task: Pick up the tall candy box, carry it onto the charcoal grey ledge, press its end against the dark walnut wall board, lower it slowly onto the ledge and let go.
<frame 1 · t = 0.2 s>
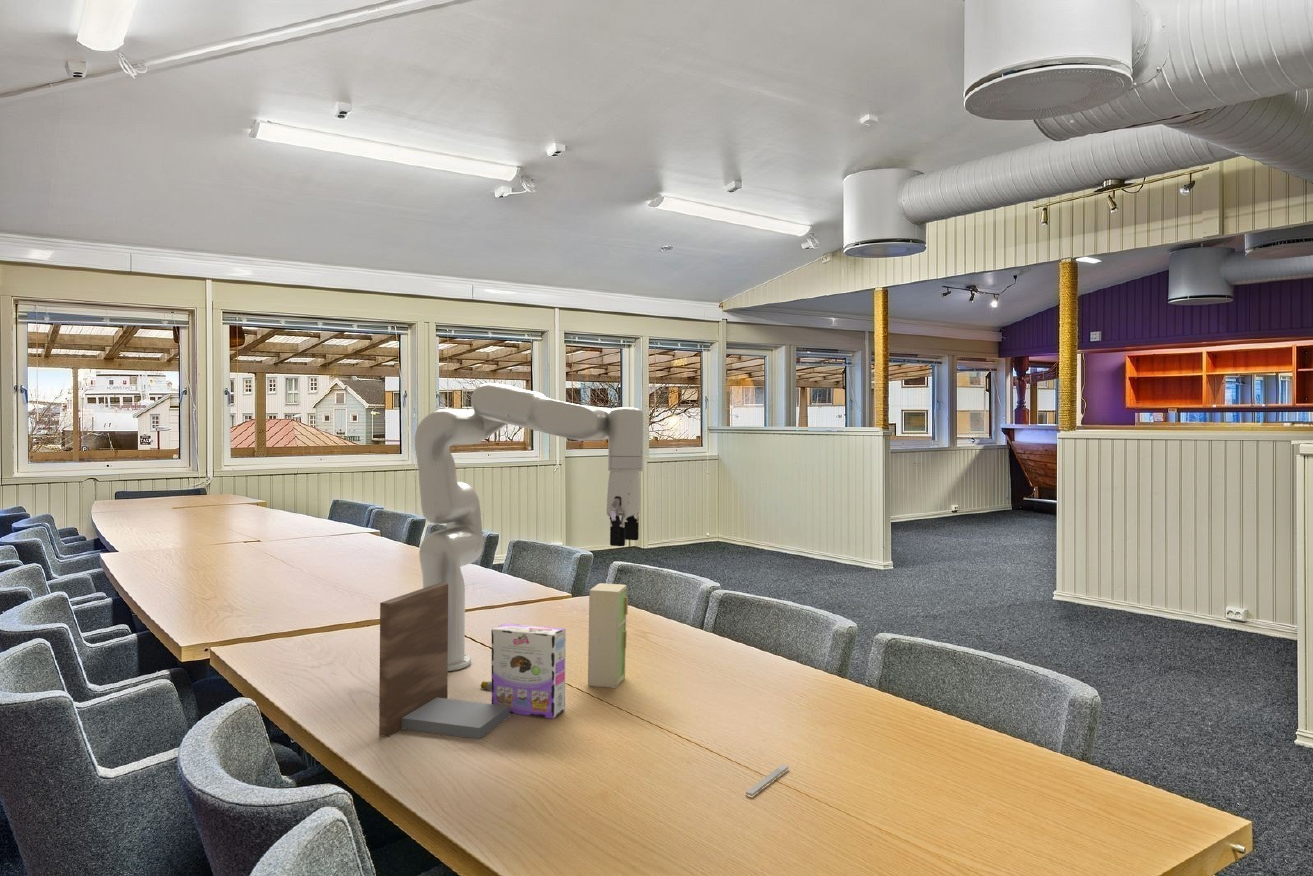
hand: (624, 542, 176), 31 cm above the table, tool pointing down, fingers open, 9 cm apart
wall board: (415, 717, 155), on the table
candy box: (528, 711, 159), on the table
cleat ledge: (457, 722, 153), on the table
extension cord: (522, 692, 173), on the table
toy refrigerator: (608, 683, 178), on the table
ruler: (767, 786, 128), on the table
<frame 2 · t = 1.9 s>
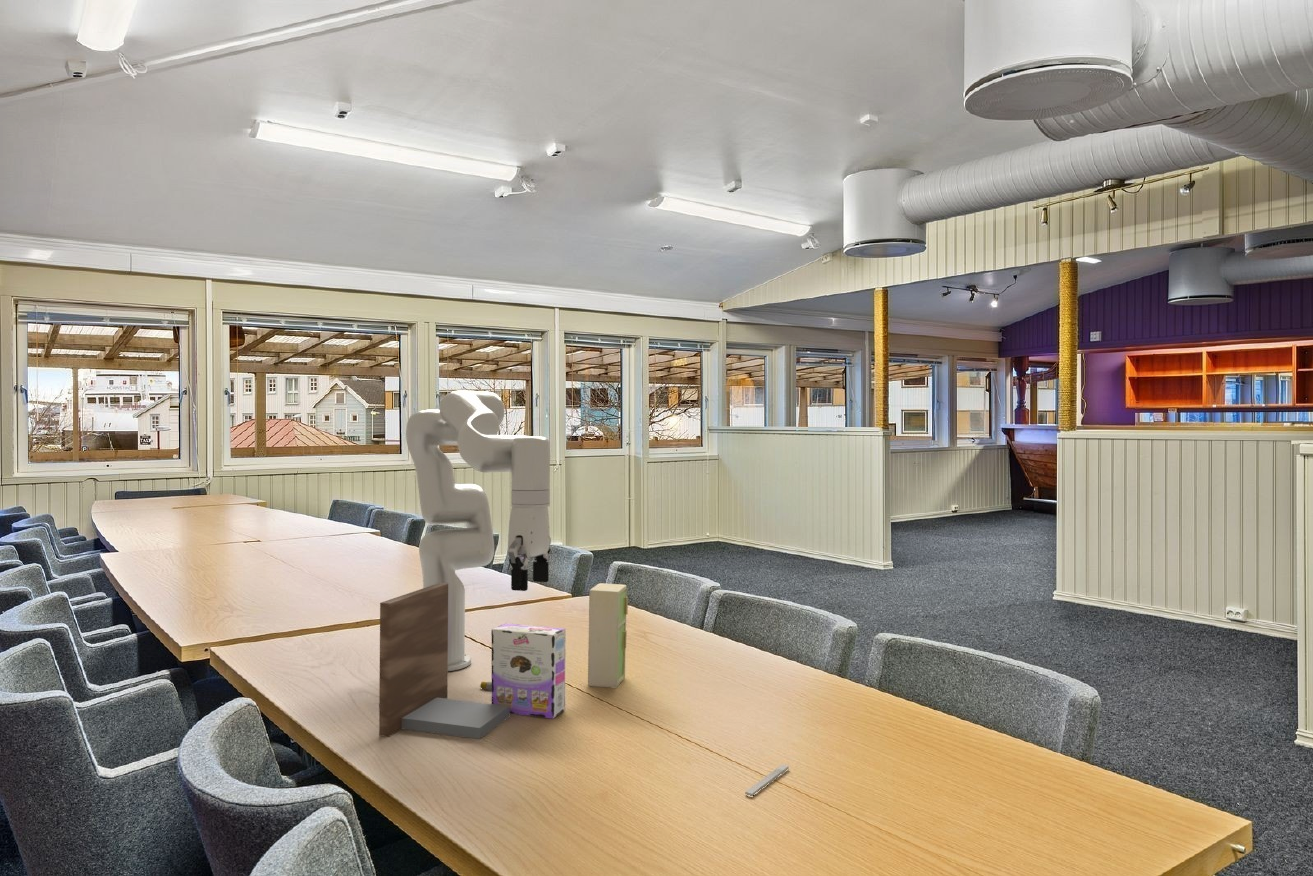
hand: (530, 585, 159), 25 cm above the table, tool pointing down, fingers open, 9 cm apart
nothing on the table moved.
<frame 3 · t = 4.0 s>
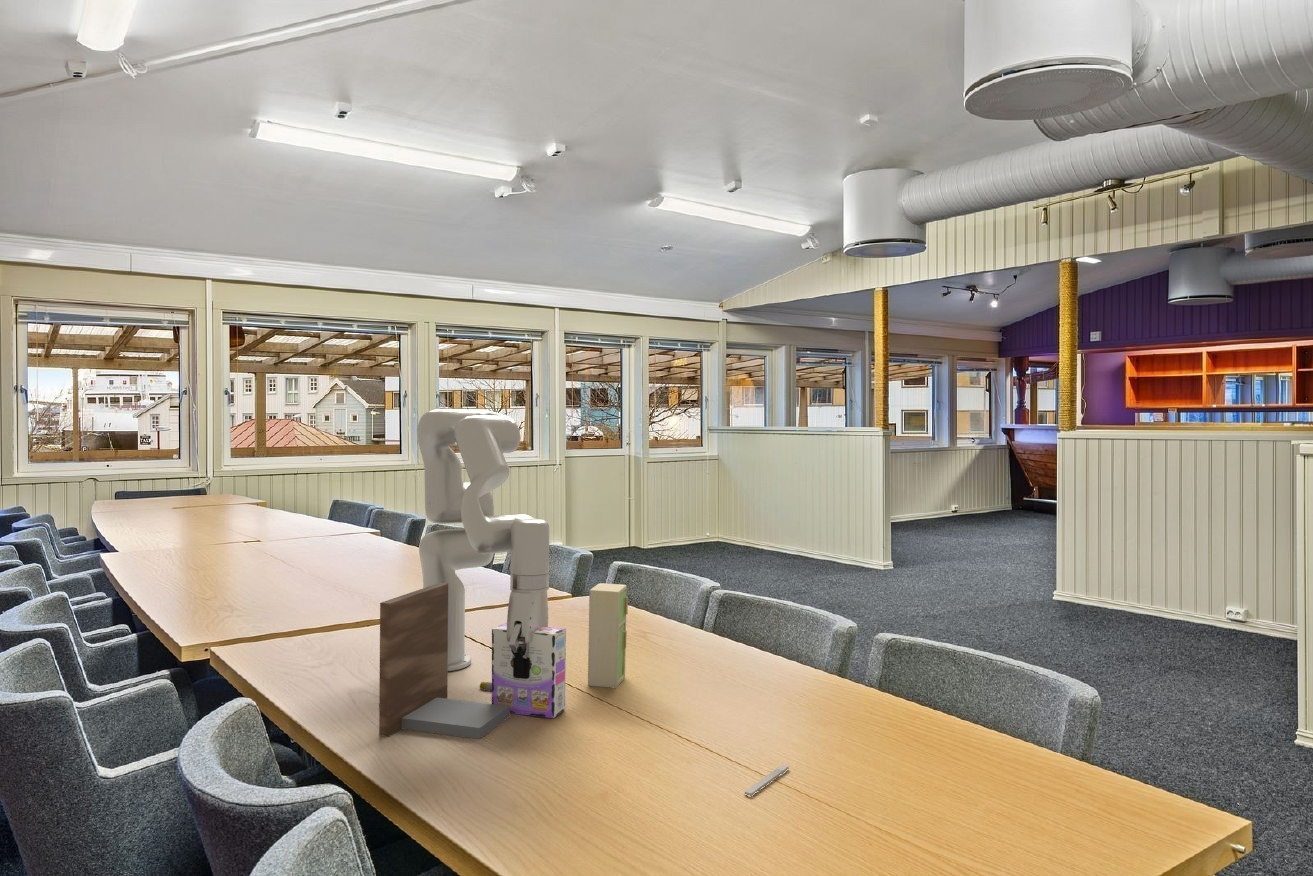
hand: (528, 672, 159), 8 cm above the table, tool pointing down, fingers closed on candy box, 6 cm apart
candy box: (528, 711, 159), on the table, touching gripper
everything else where it was.
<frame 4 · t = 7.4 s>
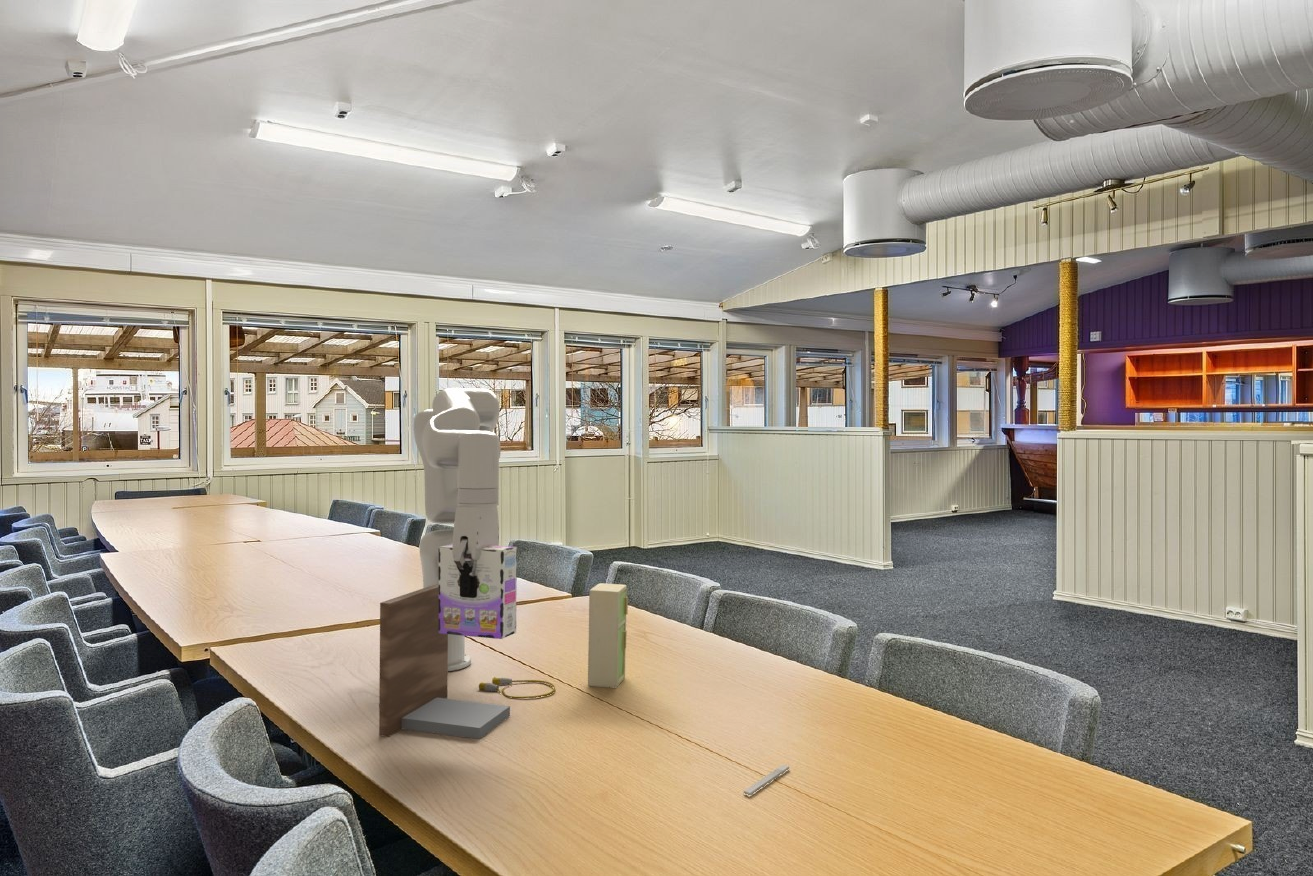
hand: (477, 592, 151), 25 cm above the table, tool pointing down, fingers closed on candy box, 6 cm apart
candy box: (477, 634, 151), point 17 cm above the table, touching gripper
everything else where it was.
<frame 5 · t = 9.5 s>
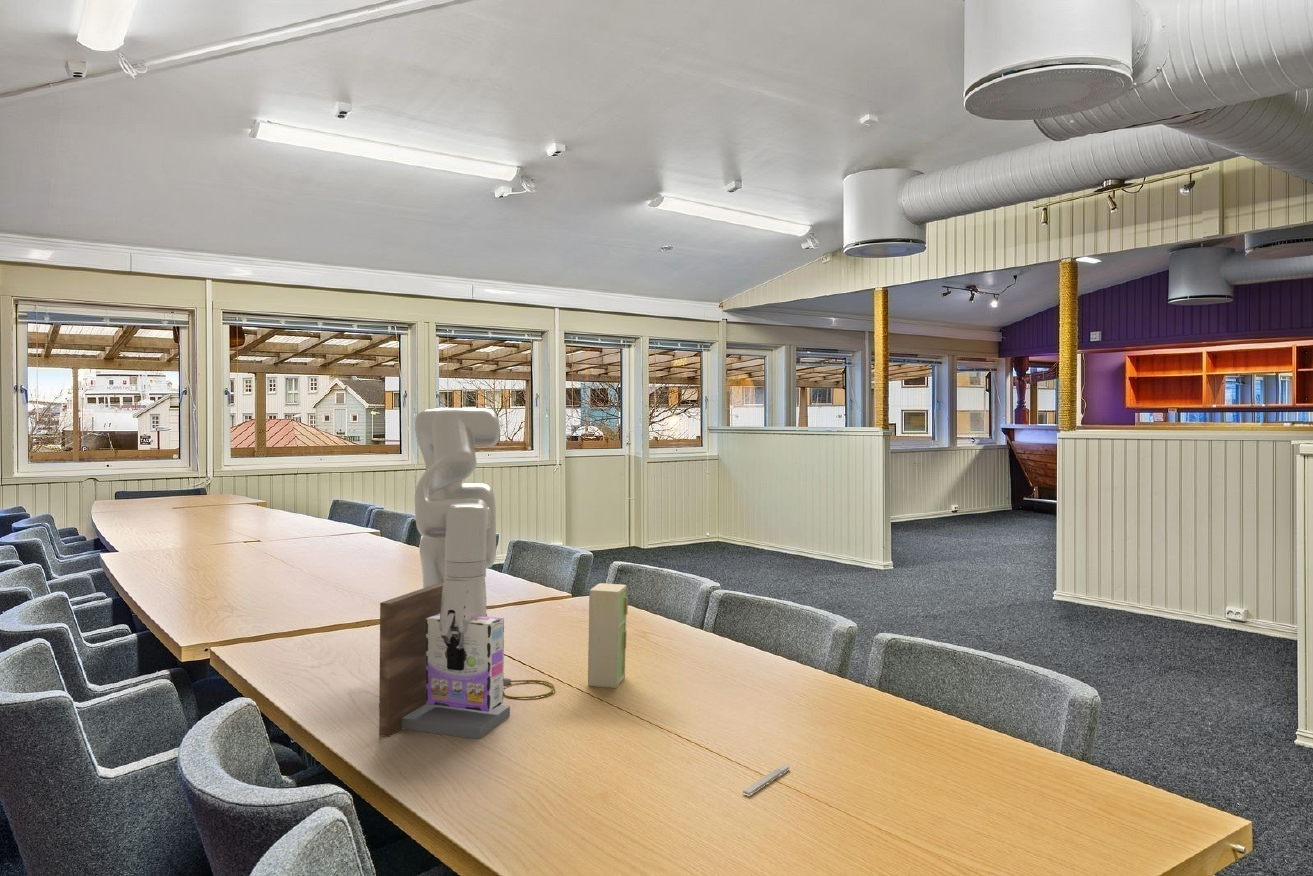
hand: (464, 663, 152), 11 cm above the table, tool pointing down, fingers closed on candy box, 6 cm apart
candy box: (464, 704, 152), point 3 cm above the table, touching gripper
everything else where it was.
when the fingers open (10 cm above the table, at t = 11.1 s): candy box stays where it is, resting on cleat ledge.
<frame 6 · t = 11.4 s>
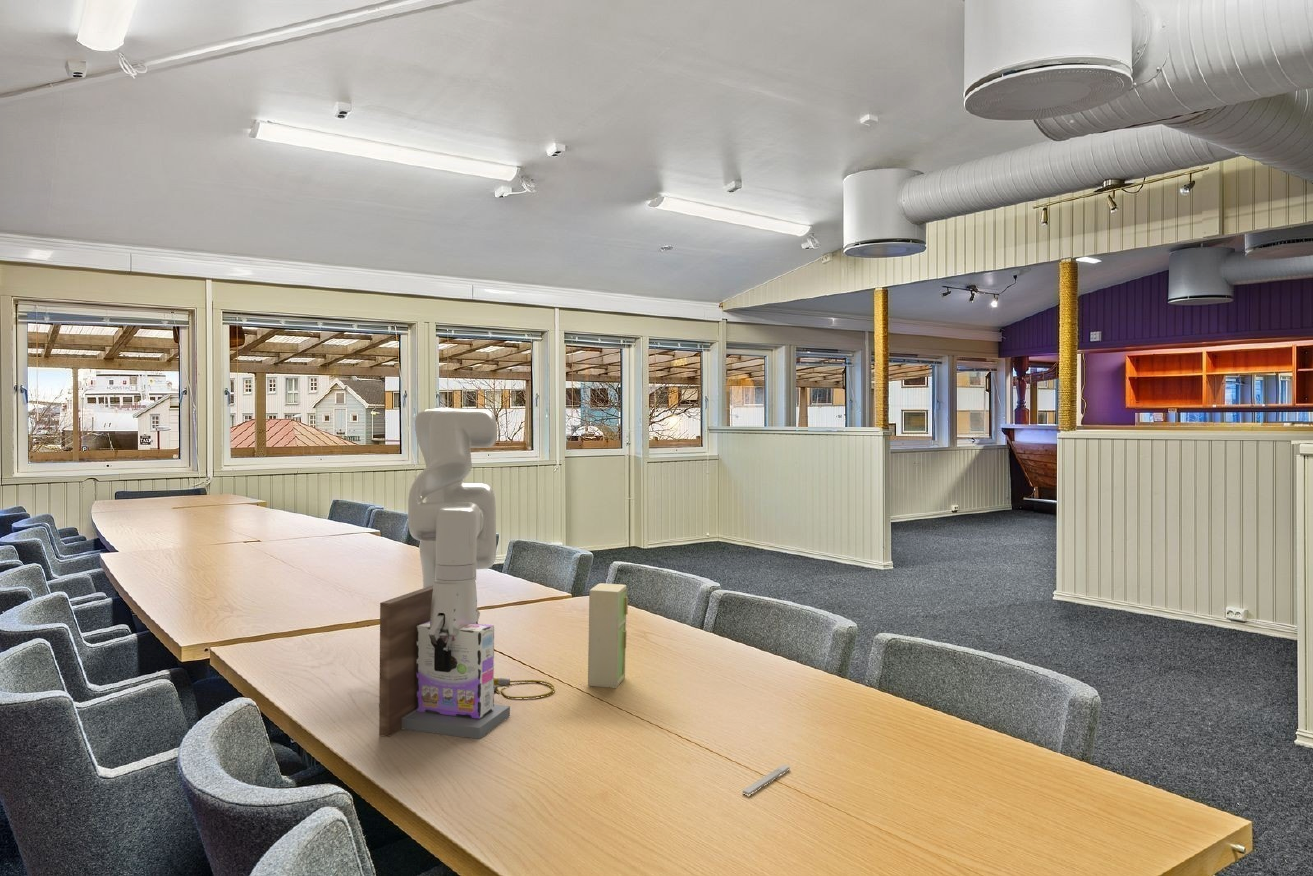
hand: (455, 664, 153), 11 cm above the table, tool pointing down, fingers open, 8 cm apart
candy box: (455, 712, 153), point 2 cm above the table, touching cleat ledge
everything else where it was.
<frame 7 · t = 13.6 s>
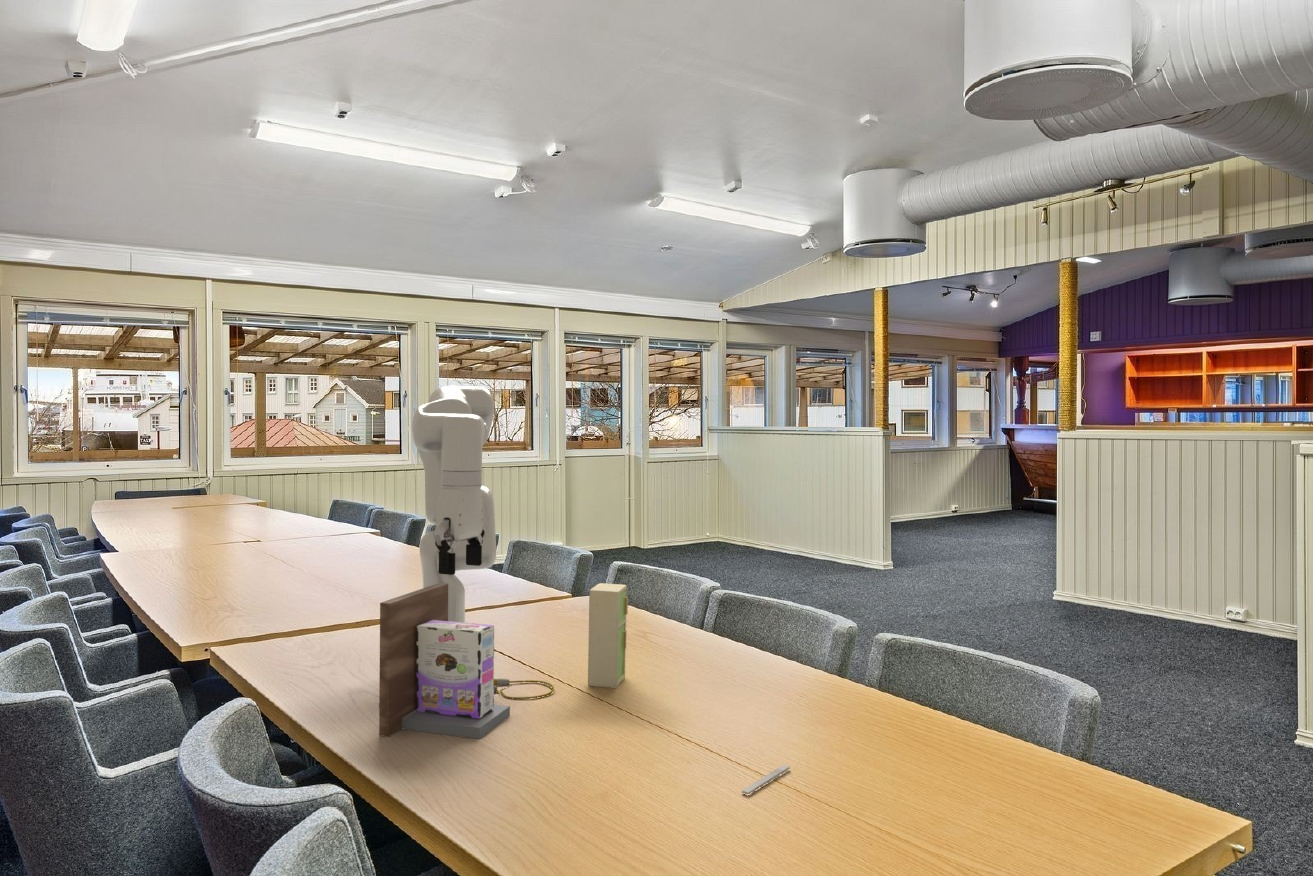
hand: (460, 569, 154), 29 cm above the table, tool pointing down, fingers open, 9 cm apart
nothing on the table moved.
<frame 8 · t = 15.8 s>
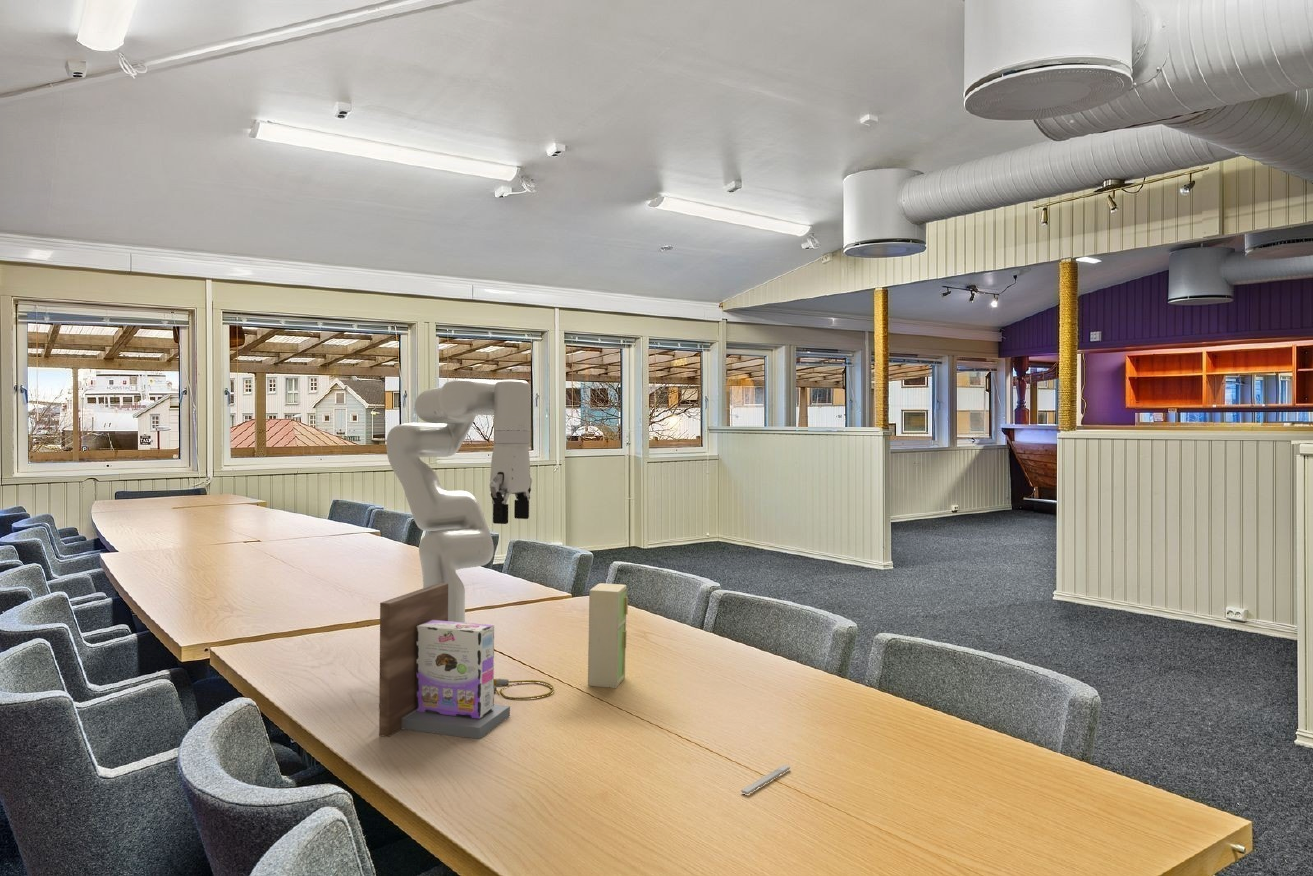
hand: (511, 521, 169), 36 cm above the table, tool pointing down, fingers open, 9 cm apart
at the end: candy box 0.3 cm off-centre on the cleat ledge, point 1.8 cm above the cleat ledge's base; candy box tilted 0°; the gripper is holding nothing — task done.
